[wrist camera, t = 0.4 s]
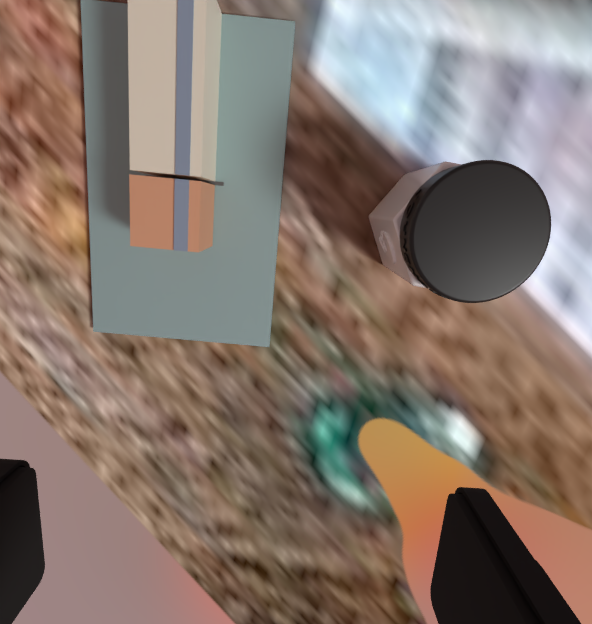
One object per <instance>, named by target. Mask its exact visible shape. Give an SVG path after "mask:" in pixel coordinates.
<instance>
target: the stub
mask: <svg viewBox="0 0 592 624" xmlns="http://www.w3.org/2000/svg"><path fill="white" fill-rule="evenodd" d="M129 192H130V246H135V247H145V248H156V249H167V250H176V251H186V252H188V251H189V252H201V251H203V250H205V249H207V248H209V247H212V246H213V222H214V196H215V185H213V184H209V183H205V182H202V181H193V180H184V179H173V178H162V177H152V176H142V175H131V174H129Z"/></svg>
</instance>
